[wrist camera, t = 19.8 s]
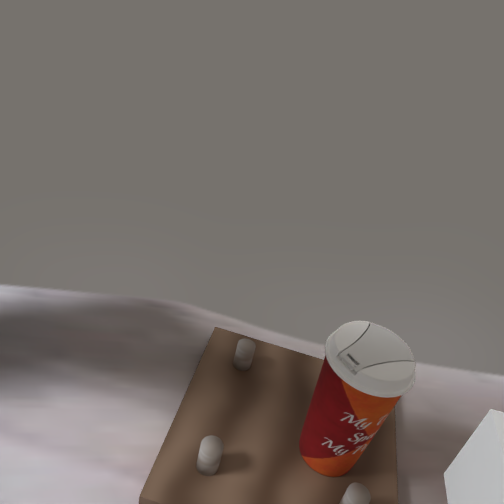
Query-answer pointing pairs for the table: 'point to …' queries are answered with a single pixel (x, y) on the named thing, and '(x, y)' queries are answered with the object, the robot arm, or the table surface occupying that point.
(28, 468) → the table surface
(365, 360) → the paper cup
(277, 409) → the peg holder
